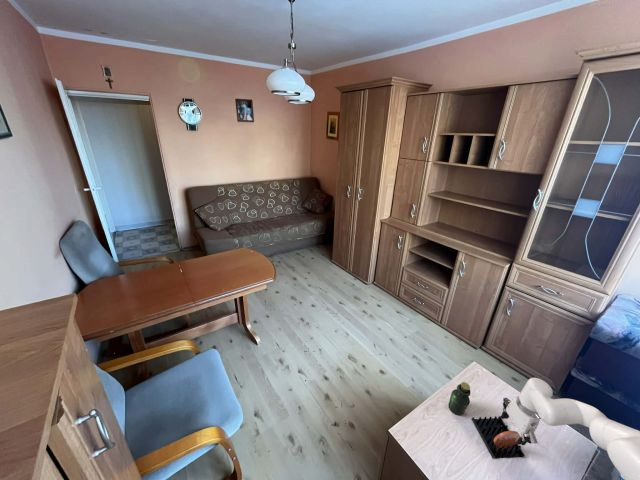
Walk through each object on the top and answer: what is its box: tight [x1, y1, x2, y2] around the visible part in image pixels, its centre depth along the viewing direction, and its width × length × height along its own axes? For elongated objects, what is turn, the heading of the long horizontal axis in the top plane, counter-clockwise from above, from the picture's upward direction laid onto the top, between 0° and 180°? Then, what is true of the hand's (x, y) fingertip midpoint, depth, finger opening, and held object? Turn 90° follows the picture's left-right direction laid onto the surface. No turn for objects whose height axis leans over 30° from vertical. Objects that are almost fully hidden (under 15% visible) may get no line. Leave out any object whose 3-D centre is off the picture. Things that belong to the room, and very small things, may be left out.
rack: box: [471, 415, 526, 460], centre depth 118 cm, size 16×14×5 cm
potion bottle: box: [447, 381, 471, 417], centre depth 126 cm, size 8×8×18 cm
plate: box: [493, 430, 521, 449], centre depth 112 cm, size 1×11×12 cm, turn 94°
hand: (511, 430), depth 110 cm, fingers open, 9 cm apart
